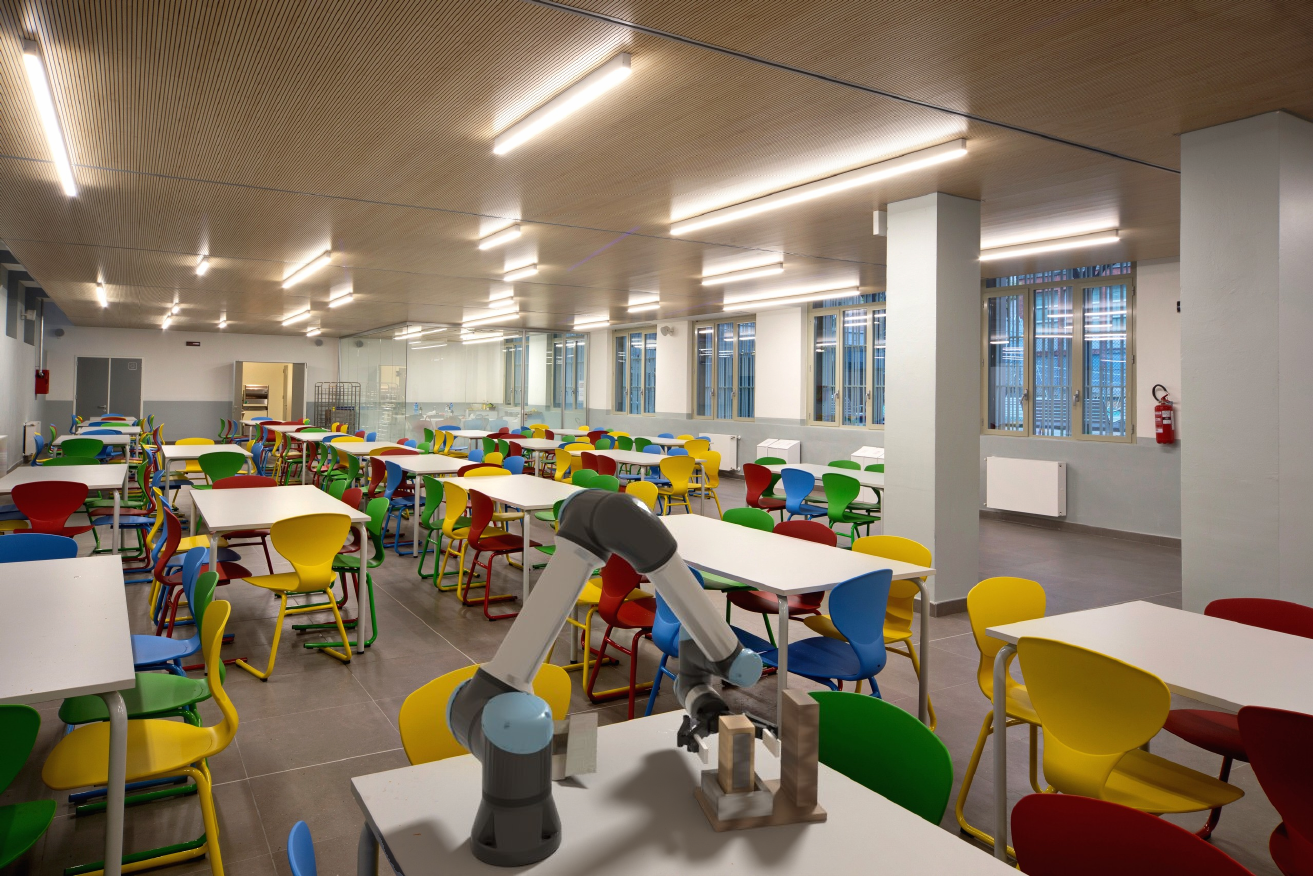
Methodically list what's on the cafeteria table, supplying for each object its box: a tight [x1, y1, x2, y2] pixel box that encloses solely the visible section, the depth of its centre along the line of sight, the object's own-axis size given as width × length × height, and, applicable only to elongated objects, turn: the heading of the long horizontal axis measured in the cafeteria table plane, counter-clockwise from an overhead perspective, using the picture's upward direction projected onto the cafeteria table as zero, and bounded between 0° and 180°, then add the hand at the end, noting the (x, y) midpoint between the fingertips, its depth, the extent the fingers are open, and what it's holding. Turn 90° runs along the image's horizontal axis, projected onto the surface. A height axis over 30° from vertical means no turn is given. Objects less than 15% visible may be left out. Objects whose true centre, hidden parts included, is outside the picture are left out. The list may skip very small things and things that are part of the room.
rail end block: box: [717, 714, 756, 794], centre depth 140 cm, size 5×6×15 cm
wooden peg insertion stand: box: [693, 688, 828, 833], centre depth 141 cm, size 21×14×20 cm, turn 103°
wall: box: [552, 712, 599, 781], centre depth 158 cm, size 16×9×15 cm
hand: (742, 753), depth 137 cm, fingers open, 13 cm apart
